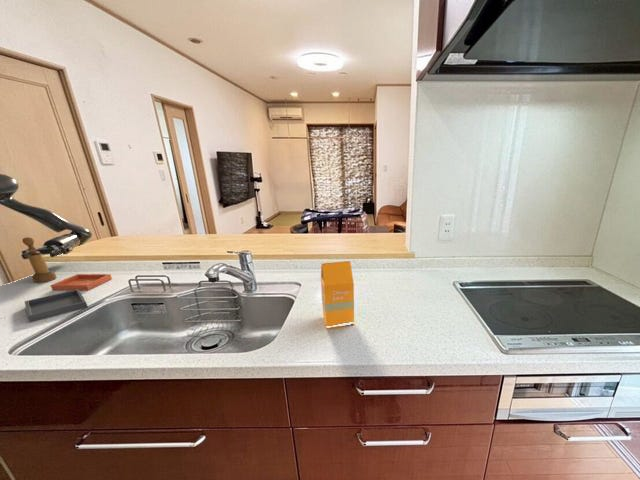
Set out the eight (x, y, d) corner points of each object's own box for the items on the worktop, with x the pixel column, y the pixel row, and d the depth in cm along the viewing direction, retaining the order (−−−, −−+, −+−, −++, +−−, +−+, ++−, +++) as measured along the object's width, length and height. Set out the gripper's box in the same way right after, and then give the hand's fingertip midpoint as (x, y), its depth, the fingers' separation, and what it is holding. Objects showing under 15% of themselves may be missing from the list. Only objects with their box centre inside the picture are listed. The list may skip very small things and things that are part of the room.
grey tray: (27, 306, 101) (24, 301, 100) (80, 294, 111) (78, 288, 110) (30, 322, 92) (27, 316, 91) (87, 307, 101) (85, 301, 100)
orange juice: (354, 325, 92) (353, 265, 85) (326, 329, 90) (323, 268, 82) (348, 313, 99) (347, 257, 92) (322, 316, 97) (319, 259, 89)
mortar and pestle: (56, 275, 127) (39, 234, 120) (56, 279, 123) (38, 237, 116) (34, 279, 123) (15, 237, 116) (33, 284, 118) (13, 240, 112)
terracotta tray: (52, 290, 113) (50, 285, 113) (79, 278, 124) (77, 274, 123) (88, 290, 114) (86, 285, 113) (112, 278, 124) (110, 274, 124)
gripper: (36, 238, 130) (10, 248, 116) (76, 236, 135) (56, 245, 121) (43, 254, 133) (18, 266, 119) (82, 251, 138) (63, 262, 124)
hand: (37, 256), depth 120 cm, fingers open, 8 cm apart
